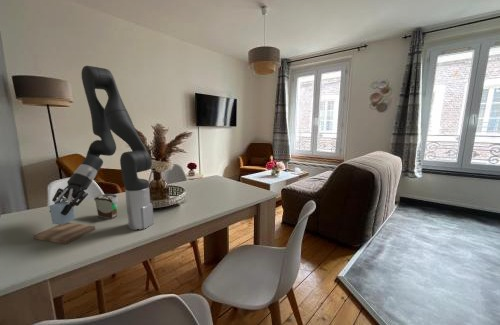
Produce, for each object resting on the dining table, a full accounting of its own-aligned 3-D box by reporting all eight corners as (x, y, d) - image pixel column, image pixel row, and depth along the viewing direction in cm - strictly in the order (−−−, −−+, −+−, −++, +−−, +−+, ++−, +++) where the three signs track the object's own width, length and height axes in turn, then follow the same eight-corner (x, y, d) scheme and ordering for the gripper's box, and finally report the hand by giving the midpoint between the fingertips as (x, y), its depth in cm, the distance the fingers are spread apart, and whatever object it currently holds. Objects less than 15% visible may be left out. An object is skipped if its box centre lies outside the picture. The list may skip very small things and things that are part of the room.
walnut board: (95, 229, 94) (94, 226, 93) (65, 244, 82) (65, 240, 82) (66, 225, 97) (65, 222, 97) (34, 238, 86) (33, 235, 86)
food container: (125, 214, 109) (124, 195, 108) (114, 219, 104) (112, 199, 102) (107, 211, 113) (105, 192, 112) (96, 215, 108) (93, 196, 106)
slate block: (74, 219, 91) (72, 202, 89) (62, 225, 86) (59, 206, 85) (65, 218, 92) (63, 201, 91) (52, 223, 87) (49, 205, 86)
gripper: (63, 171, 94) (34, 208, 85) (90, 173, 91) (63, 212, 82) (76, 180, 100) (51, 215, 91) (102, 182, 97) (79, 219, 88)
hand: (57, 213), depth 86 cm, fingers closed on slate block, 5 cm apart
